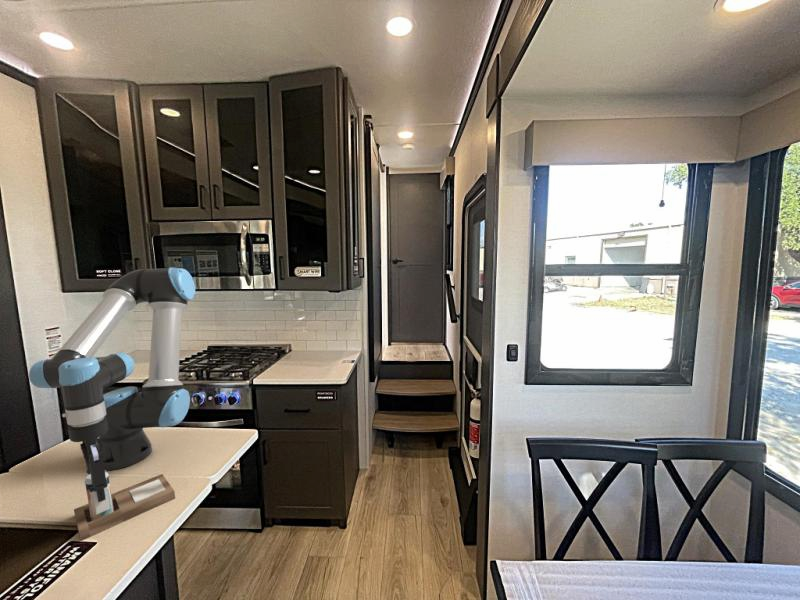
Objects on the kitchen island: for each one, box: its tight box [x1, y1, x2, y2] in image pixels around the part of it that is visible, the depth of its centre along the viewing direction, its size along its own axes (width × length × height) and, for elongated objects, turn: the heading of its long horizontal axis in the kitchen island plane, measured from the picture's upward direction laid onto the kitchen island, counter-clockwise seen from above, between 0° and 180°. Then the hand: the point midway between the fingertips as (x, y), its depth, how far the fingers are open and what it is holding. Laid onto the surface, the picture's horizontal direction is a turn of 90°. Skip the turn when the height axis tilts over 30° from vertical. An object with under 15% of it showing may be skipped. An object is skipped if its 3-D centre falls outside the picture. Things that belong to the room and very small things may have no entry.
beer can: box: [84, 470, 115, 522], centre depth 95 cm, size 5×5×12 cm
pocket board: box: [73, 473, 176, 542], centre depth 99 cm, size 12×20×2 cm, turn 136°
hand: (101, 505), depth 95 cm, fingers closed on beer can, 5 cm apart
